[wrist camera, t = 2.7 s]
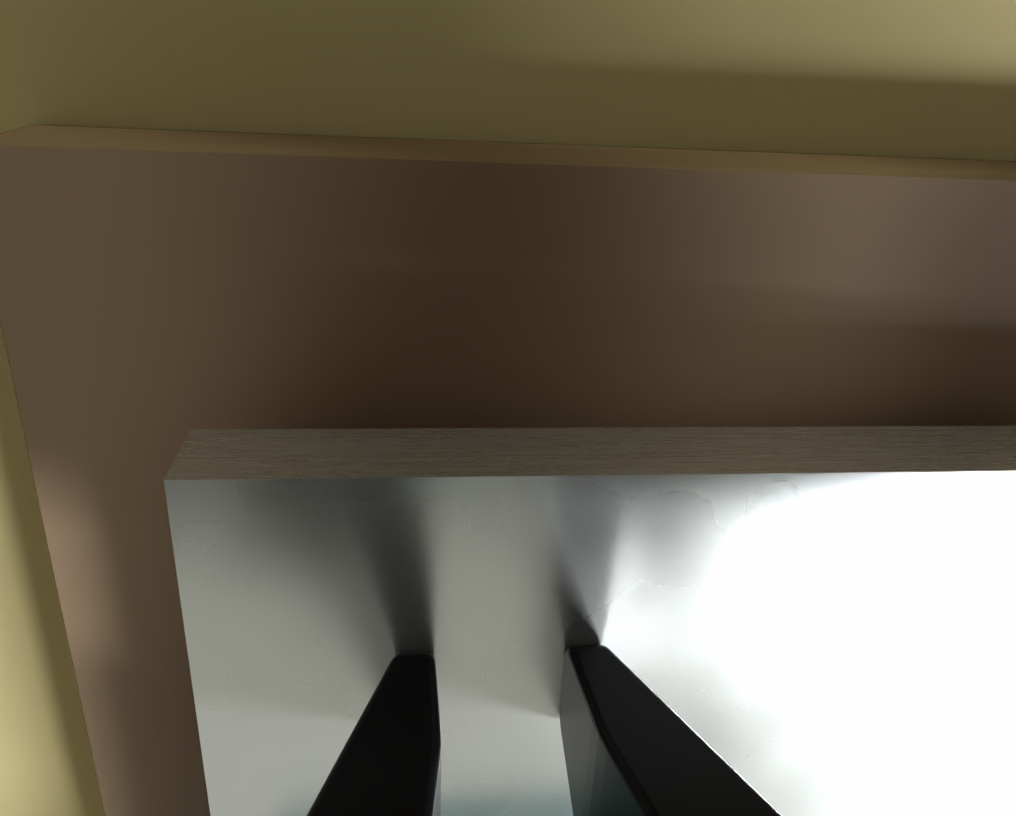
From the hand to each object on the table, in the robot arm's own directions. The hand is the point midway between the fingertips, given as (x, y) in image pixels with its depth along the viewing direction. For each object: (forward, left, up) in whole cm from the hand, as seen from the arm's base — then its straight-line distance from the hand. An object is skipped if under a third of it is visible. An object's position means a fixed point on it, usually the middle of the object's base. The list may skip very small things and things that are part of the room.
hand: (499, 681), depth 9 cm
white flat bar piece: (-5, 0, -1) cm, 5 cm away
